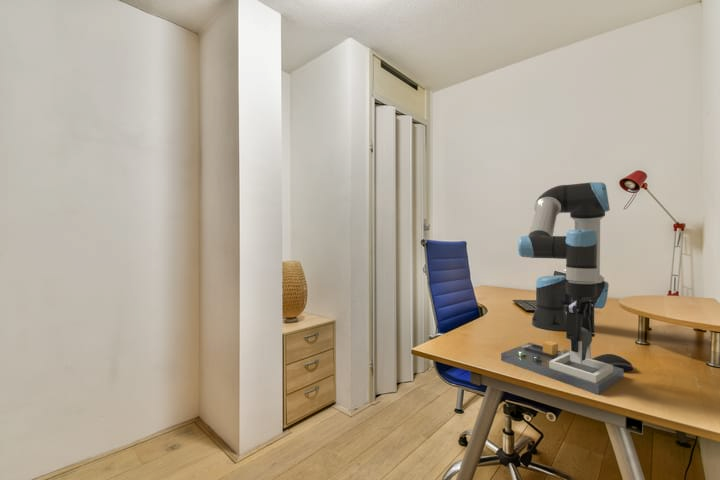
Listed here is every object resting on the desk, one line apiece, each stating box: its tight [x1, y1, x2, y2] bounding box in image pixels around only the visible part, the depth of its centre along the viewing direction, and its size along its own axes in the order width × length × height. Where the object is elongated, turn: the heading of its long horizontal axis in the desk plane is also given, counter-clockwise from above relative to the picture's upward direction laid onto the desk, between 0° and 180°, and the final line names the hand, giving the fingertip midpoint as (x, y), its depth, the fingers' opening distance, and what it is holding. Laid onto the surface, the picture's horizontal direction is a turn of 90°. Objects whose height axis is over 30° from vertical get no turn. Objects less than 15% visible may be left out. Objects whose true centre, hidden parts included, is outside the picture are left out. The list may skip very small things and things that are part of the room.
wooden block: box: [542, 340, 559, 355], centre depth 106 cm, size 4×3×4 cm
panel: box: [500, 342, 625, 396], centre depth 101 cm, size 18×28×4 cm, turn 34°
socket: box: [549, 352, 613, 383], centre depth 94 cm, size 12×12×2 cm
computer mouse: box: [591, 353, 634, 373], centre depth 101 cm, size 7×12×4 cm, turn 81°
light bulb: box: [580, 327, 593, 361], centre depth 94 cm, size 6×6×10 cm
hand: (580, 359), depth 94 cm, fingers closed on light bulb, 5 cm apart
